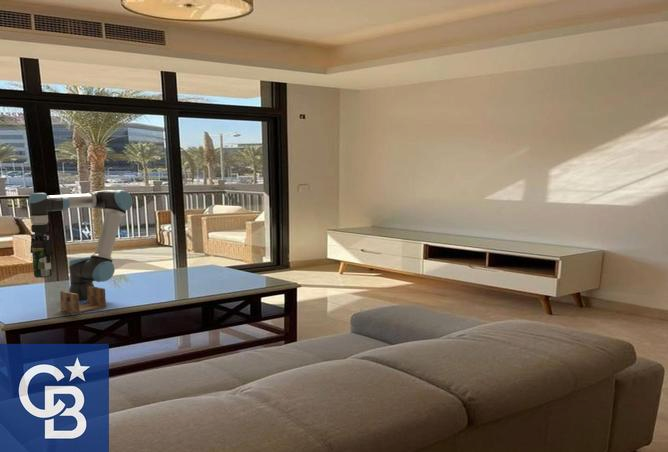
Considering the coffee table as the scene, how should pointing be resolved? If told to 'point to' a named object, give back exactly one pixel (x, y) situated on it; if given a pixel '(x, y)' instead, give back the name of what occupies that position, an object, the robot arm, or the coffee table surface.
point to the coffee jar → (39, 260)
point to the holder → (94, 303)
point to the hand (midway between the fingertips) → (42, 268)
